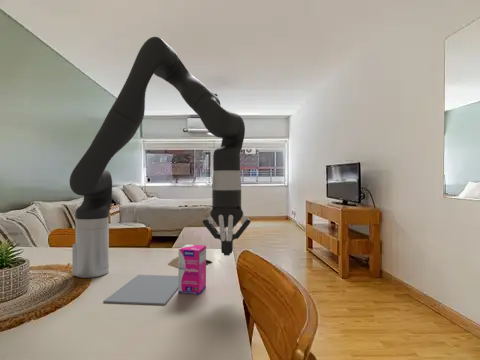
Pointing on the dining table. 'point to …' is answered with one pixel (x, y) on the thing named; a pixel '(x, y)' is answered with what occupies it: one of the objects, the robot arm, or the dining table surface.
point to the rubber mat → (146, 290)
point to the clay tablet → (176, 262)
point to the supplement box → (192, 269)
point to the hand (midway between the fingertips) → (227, 254)
